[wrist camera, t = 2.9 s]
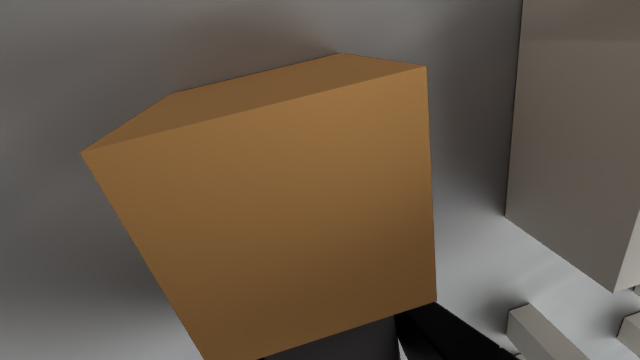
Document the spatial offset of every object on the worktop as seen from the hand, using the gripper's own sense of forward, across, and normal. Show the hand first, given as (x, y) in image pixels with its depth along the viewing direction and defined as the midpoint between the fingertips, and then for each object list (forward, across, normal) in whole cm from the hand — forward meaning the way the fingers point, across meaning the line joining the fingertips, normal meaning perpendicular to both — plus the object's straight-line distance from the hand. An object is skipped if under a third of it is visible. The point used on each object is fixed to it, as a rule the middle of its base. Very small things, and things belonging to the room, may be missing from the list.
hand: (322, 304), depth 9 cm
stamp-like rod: (+1, 0, 0) cm, 1 cm away
